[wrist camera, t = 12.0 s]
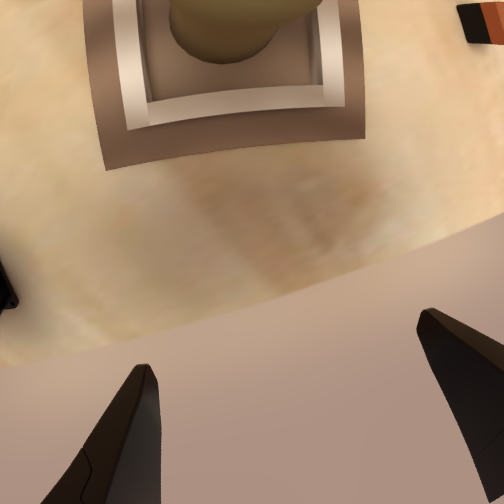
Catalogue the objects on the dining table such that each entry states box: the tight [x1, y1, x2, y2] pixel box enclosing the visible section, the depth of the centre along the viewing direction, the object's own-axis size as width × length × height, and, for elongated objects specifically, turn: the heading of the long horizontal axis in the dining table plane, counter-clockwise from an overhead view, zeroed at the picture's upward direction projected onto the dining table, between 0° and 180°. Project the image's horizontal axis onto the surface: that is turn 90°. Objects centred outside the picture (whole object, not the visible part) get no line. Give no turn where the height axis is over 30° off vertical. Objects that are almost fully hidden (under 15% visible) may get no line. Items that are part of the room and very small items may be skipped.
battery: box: [457, 2, 504, 45], centre depth 13 cm, size 2×3×5 cm, turn 22°
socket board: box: [83, 0, 365, 171], centre depth 13 cm, size 16×16×3 cm
